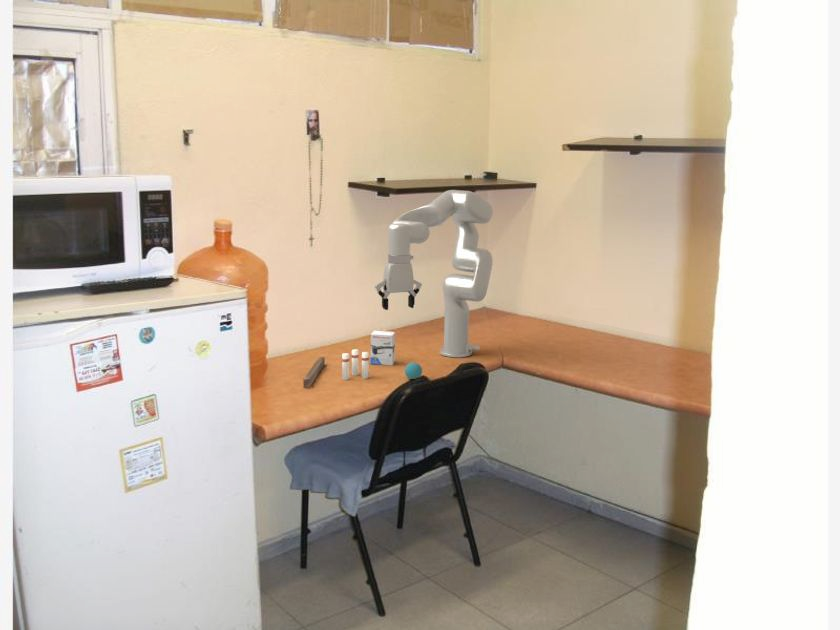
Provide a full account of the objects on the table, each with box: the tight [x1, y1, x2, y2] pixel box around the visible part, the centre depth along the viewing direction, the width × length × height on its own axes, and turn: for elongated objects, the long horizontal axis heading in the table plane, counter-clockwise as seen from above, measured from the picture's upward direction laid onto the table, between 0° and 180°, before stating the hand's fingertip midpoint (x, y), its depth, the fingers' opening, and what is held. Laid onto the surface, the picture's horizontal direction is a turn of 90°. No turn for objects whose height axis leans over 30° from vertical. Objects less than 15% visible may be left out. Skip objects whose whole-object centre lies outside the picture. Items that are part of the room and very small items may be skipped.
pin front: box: [361, 351, 370, 379], centre depth 280 cm, size 2×2×9 cm
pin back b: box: [341, 352, 350, 381], centre depth 278 cm, size 2×2×9 cm
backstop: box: [302, 356, 326, 389], centre depth 282 cm, size 2×28×3 cm, turn 176°
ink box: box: [370, 330, 396, 366], centre depth 298 cm, size 8×5×12 cm, turn 82°
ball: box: [404, 362, 423, 380], centre depth 280 cm, size 6×6×6 cm
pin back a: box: [351, 348, 360, 377], centre depth 284 cm, size 2×2×9 cm
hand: (398, 308), depth 279 cm, fingers open, 9 cm apart
